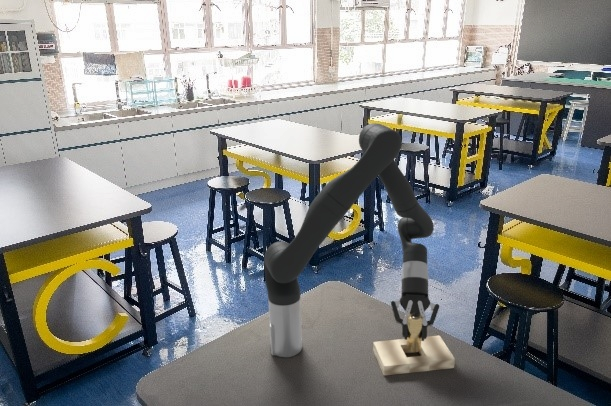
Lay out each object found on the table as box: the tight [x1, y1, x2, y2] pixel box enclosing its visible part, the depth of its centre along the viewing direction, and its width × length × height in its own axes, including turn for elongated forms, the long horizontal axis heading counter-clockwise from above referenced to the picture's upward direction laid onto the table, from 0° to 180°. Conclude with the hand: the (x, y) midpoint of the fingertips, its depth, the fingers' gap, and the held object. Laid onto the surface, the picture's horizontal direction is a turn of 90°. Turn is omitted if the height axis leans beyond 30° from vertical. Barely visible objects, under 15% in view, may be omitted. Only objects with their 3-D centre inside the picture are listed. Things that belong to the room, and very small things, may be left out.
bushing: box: [406, 313, 423, 353], centre depth 136 cm, size 4×4×10 cm
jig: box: [372, 335, 456, 376], centre depth 138 cm, size 20×11×3 cm, turn 97°
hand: (414, 339), depth 134 cm, fingers closed on bushing, 4 cm apart
